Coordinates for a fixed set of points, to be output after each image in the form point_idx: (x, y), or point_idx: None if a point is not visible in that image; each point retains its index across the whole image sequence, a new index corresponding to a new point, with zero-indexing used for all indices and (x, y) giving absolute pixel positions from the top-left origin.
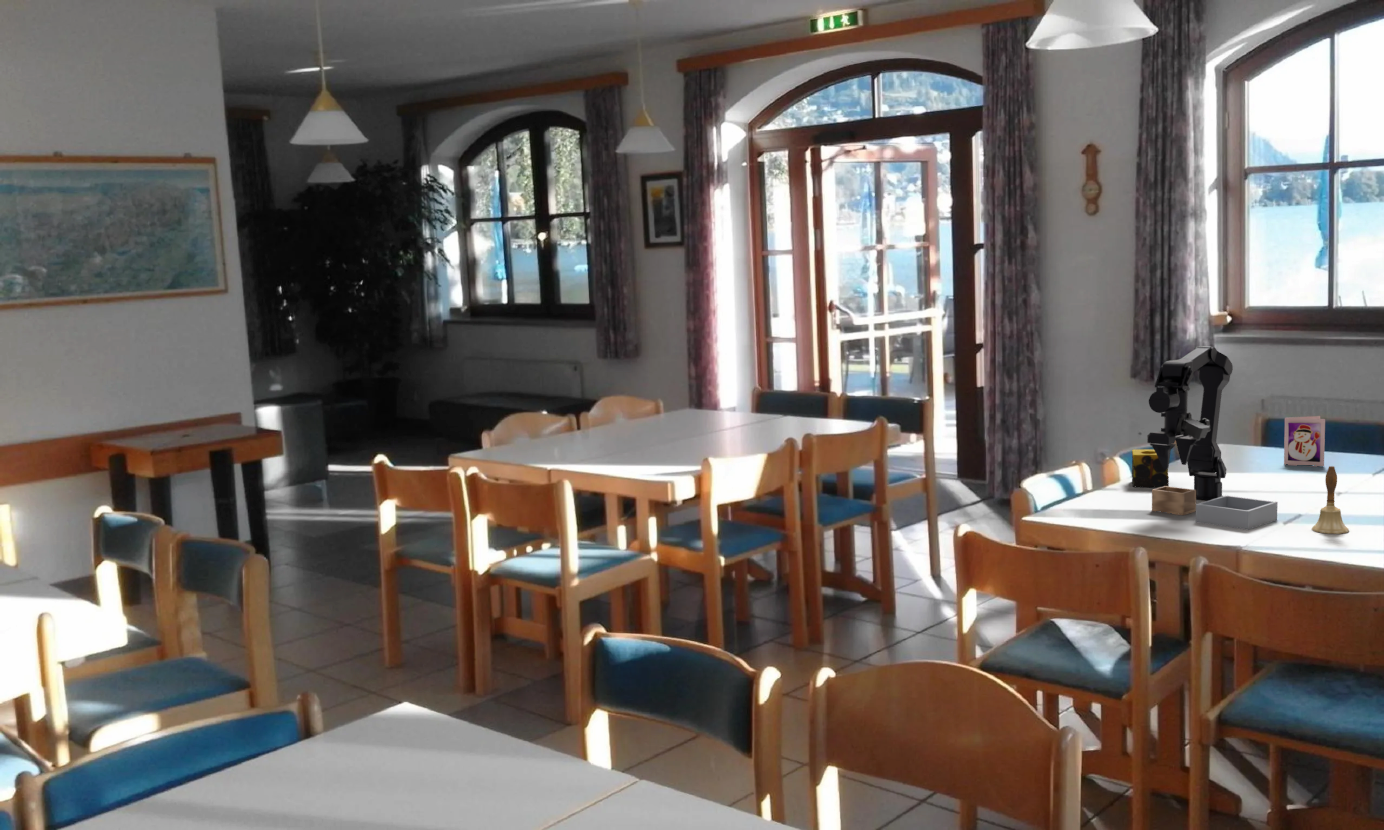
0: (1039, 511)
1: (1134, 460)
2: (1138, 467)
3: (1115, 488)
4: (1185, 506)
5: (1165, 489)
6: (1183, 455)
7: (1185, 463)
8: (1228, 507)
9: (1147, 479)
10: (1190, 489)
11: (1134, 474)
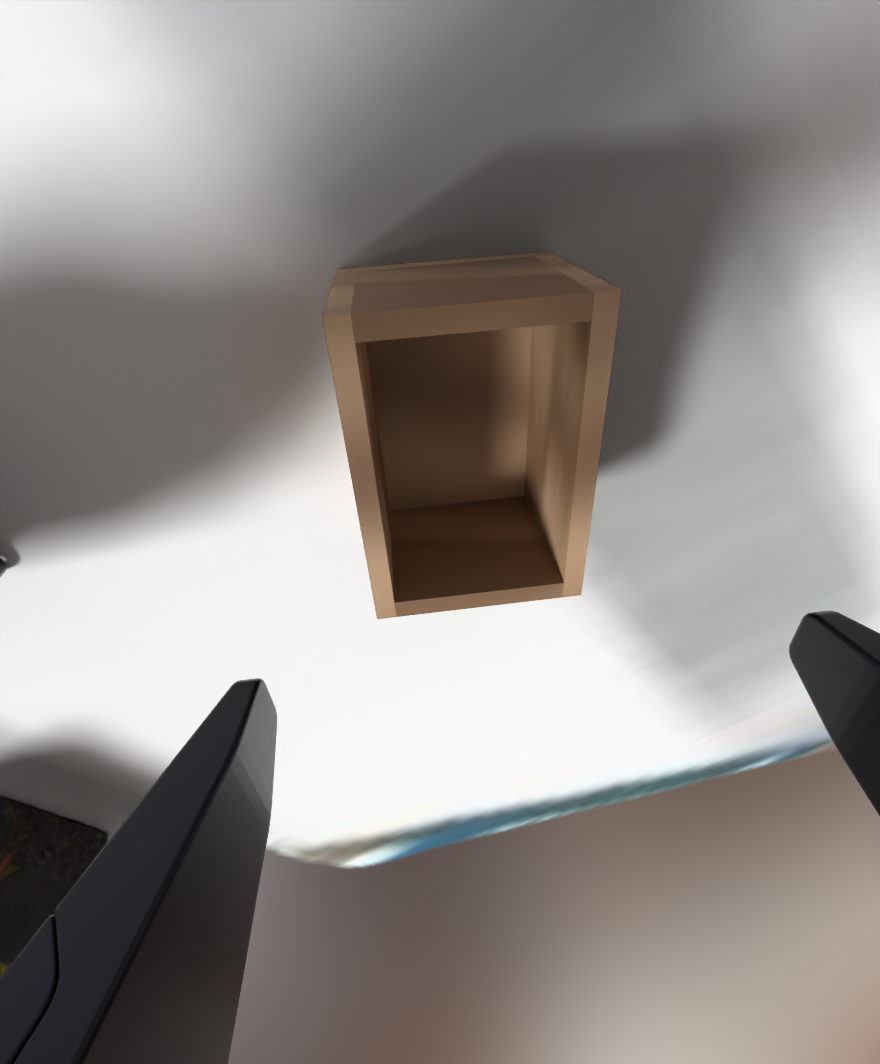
0: (801, 745)
1: None
2: None
3: None
4: (525, 266)
5: (398, 585)
6: (227, 868)
7: (257, 693)
8: None
9: (27, 855)
10: (348, 379)
11: None
